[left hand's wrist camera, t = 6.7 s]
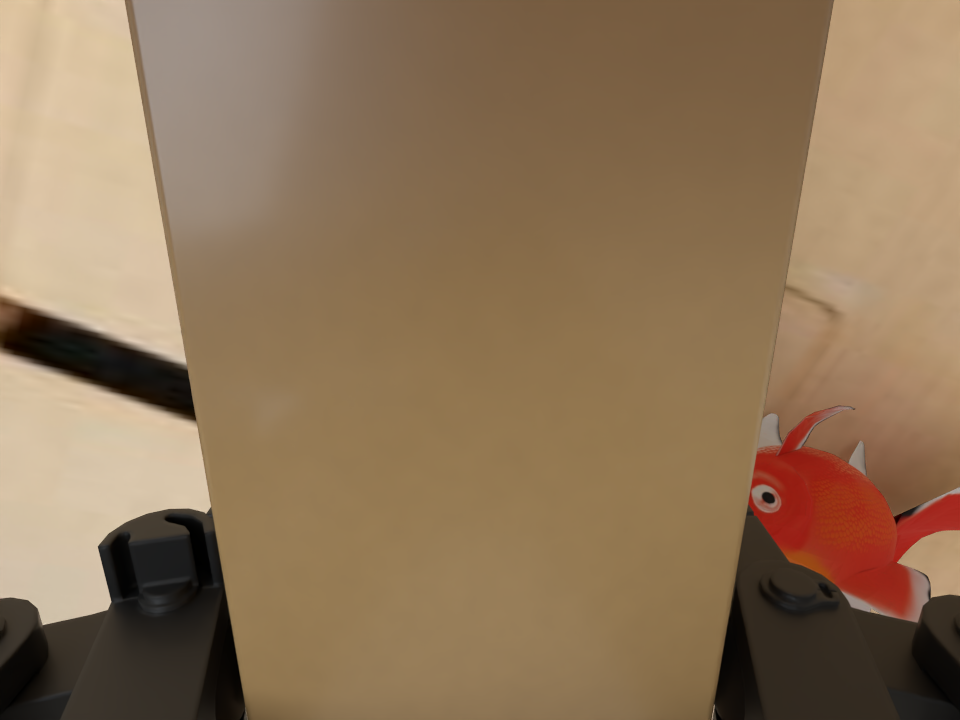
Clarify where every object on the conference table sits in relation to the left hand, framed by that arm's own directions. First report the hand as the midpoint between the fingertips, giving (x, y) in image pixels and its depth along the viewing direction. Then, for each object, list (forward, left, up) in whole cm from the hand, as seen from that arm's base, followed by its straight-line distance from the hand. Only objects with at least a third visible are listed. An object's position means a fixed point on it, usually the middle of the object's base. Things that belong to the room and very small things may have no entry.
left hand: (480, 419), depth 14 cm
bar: (+4, +7, -1) cm, 8 cm away
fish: (+10, -15, -12) cm, 21 cm away
